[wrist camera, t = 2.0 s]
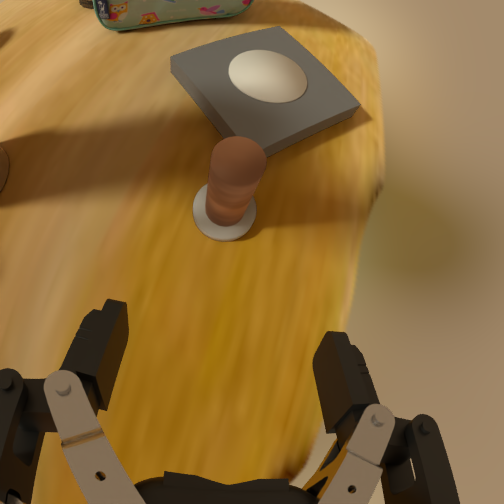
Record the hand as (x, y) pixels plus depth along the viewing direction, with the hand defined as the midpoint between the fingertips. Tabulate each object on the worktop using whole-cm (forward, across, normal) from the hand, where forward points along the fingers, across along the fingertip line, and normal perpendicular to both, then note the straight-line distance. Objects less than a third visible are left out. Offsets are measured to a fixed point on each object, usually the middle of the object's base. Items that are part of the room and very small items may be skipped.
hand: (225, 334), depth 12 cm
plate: (+34, -2, -9) cm, 35 cm away
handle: (+21, 0, +4) cm, 21 cm away
